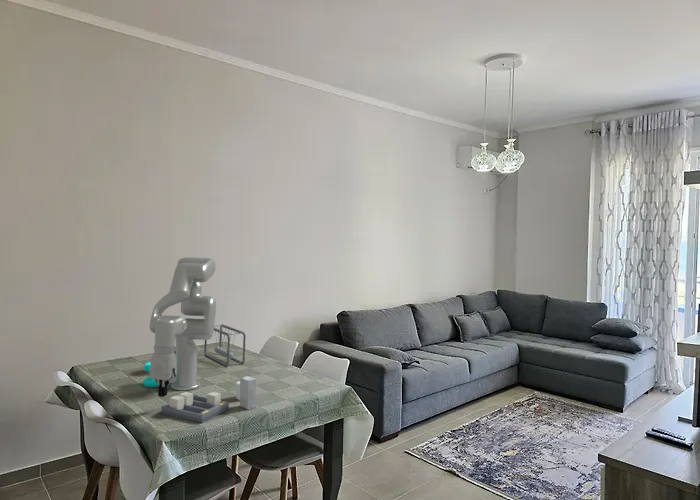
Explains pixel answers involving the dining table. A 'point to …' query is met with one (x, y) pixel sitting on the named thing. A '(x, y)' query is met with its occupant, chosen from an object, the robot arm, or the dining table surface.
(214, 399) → the tab inner
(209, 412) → the switch bank
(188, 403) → the tab middle
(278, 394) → the dining table surface
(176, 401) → the white cube
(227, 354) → the newton's cradle
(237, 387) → the grey cylinder
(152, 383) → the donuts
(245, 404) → the skincare box
